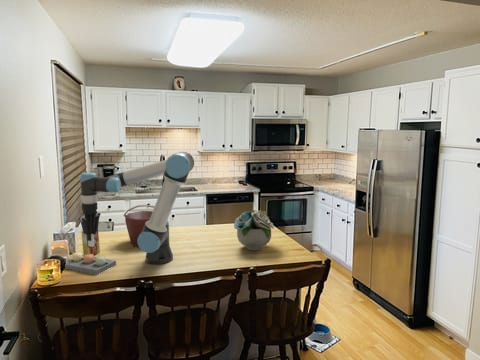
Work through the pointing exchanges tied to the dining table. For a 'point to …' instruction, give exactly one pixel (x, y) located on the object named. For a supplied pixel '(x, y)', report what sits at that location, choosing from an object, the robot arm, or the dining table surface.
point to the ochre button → (77, 257)
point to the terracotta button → (88, 259)
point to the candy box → (89, 249)
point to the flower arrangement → (253, 229)
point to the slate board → (89, 266)
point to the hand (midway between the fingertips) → (91, 245)
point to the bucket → (136, 222)
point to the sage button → (100, 261)
